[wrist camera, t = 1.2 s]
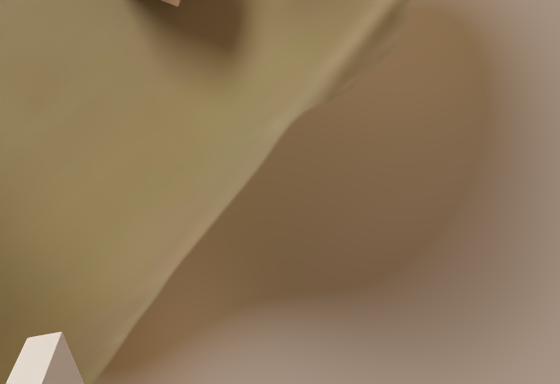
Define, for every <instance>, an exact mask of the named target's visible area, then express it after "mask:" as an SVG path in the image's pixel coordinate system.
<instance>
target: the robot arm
mask: <svg viewBox="0 0 560 384" xmlns="http://www.w3.org/2000/svg"><path fill="white" fill-rule="evenodd" d="M6 384H84V383H83V380H82V378H81V376H80V373H79V371H78V368H77V366H76V364H75V361H74V359H73V357H72V354H71V352H70V350H69V347H68V345H67V343H66V340H65V338H64V335H63V333H62V332H57V333H52V334H46V335H41V336H35V337H29V338H27V340H26V342H25V344H24V346H23V348H22V351H21V353H20V355H19V357H18V359H17V361H16V363H15V365H14V368H13V370H12V372H11V374H10V376H9V378H8V380H7V382H6Z"/></svg>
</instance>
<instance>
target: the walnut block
mask: <svg viewBox="0 0 560 384" xmlns="http://www.w3.org/2000/svg"><path fill="white" fill-rule="evenodd" d="M162 1H164V2H167V3H170V4H172V5H175V6H177V7H178V6H179V4H180V3H181V1H182V0H162Z"/></svg>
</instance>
